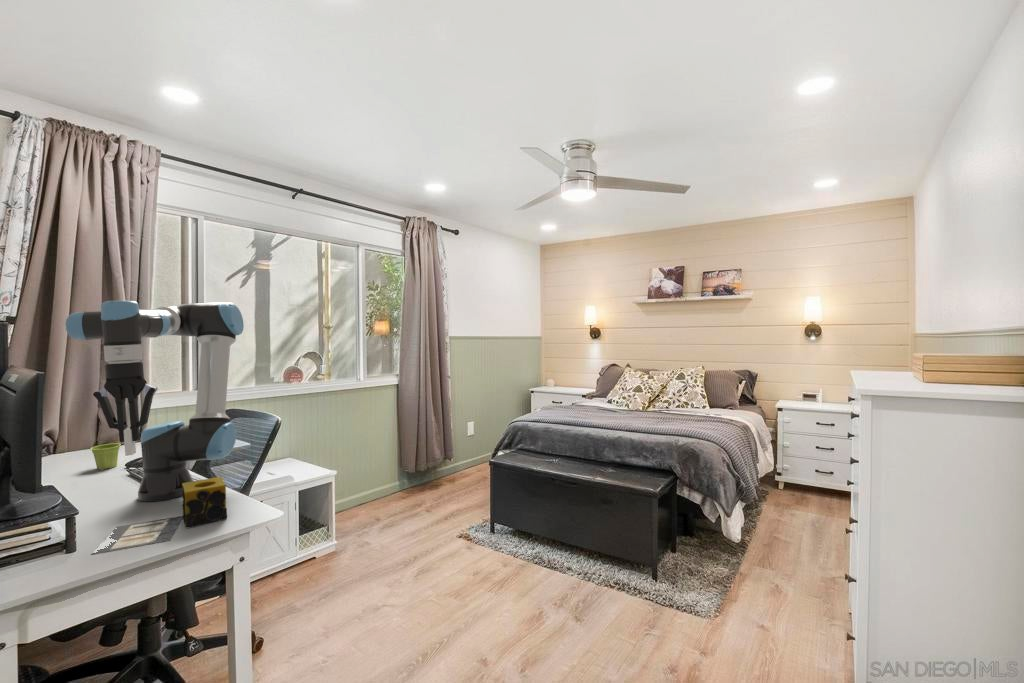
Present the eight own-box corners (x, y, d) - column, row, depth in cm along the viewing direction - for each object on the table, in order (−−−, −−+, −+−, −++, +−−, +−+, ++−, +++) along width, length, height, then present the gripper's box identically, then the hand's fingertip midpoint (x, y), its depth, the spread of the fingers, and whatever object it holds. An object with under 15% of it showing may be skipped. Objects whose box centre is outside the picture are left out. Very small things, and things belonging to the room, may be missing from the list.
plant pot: (128, 463, 200) (126, 442, 199) (110, 470, 190) (109, 448, 190) (104, 464, 199) (102, 443, 199) (85, 471, 190) (83, 449, 189)
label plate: (116, 526, 134) (116, 526, 134) (185, 515, 140) (185, 515, 140) (90, 554, 117) (90, 554, 117) (169, 540, 124) (169, 540, 124)
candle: (182, 517, 138) (180, 483, 138) (223, 508, 144) (221, 475, 144) (184, 529, 130) (182, 492, 130) (227, 519, 136) (226, 484, 136)
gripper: (85, 364, 117) (92, 461, 118) (151, 361, 122) (157, 454, 123) (97, 362, 124) (104, 454, 125) (159, 359, 129) (165, 447, 130)
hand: (130, 454), depth 124 cm, fingers closed
